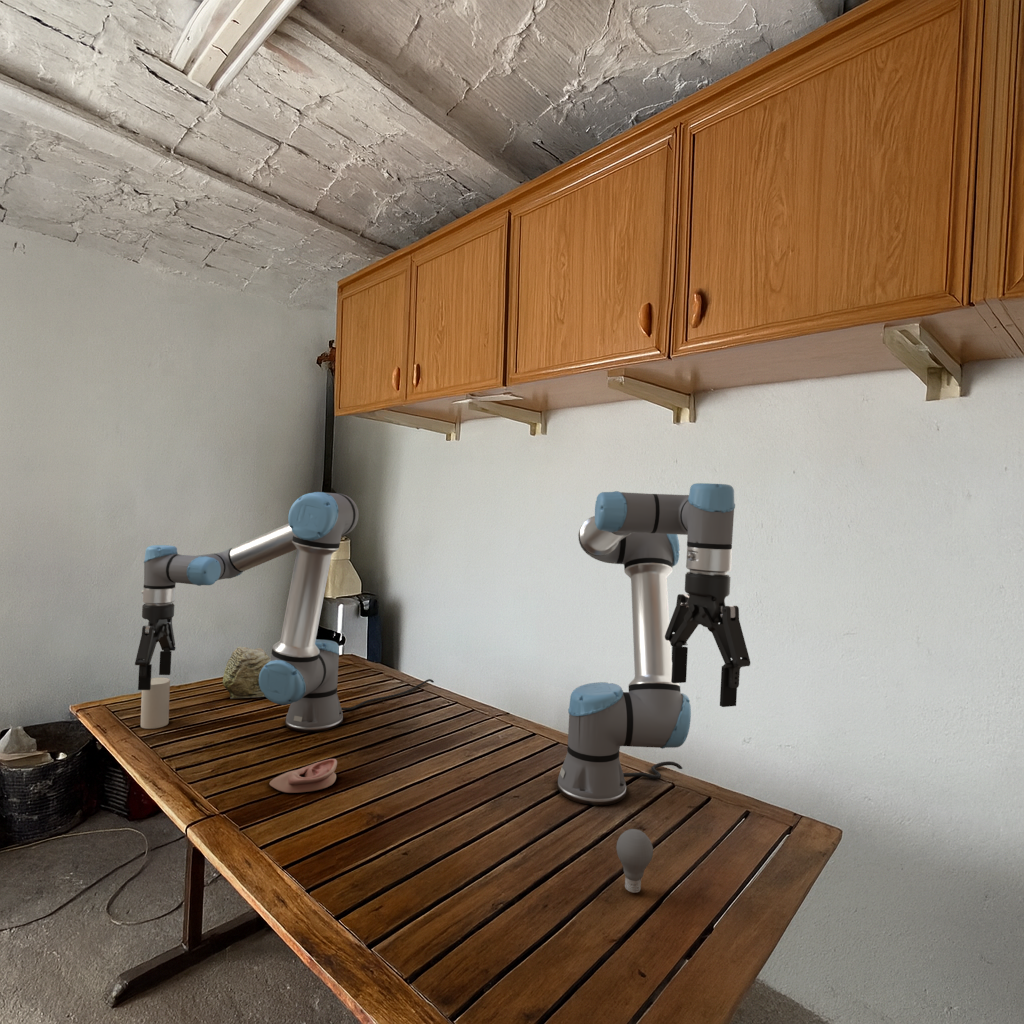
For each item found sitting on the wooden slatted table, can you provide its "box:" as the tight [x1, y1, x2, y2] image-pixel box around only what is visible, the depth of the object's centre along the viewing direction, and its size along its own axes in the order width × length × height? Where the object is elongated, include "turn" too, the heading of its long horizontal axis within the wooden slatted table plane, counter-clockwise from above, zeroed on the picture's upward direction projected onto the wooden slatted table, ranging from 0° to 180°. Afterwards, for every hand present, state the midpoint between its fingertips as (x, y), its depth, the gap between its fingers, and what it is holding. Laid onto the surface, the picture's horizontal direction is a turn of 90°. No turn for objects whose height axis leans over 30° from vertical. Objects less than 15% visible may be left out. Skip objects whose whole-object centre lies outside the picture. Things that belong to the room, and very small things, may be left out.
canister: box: [140, 677, 171, 730], centre depth 170 cm, size 7×7×12 cm
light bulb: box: [615, 828, 654, 894], centre depth 106 cm, size 6×6×10 cm
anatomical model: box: [269, 758, 338, 794], centre depth 140 cm, size 13×4×12 cm
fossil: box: [222, 646, 271, 699], centre depth 198 cm, size 9×18×15 cm, turn 132°
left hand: (154, 682), depth 170 cm, fingers open, 13 cm apart
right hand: (701, 693), depth 111 cm, fingers open, 13 cm apart
